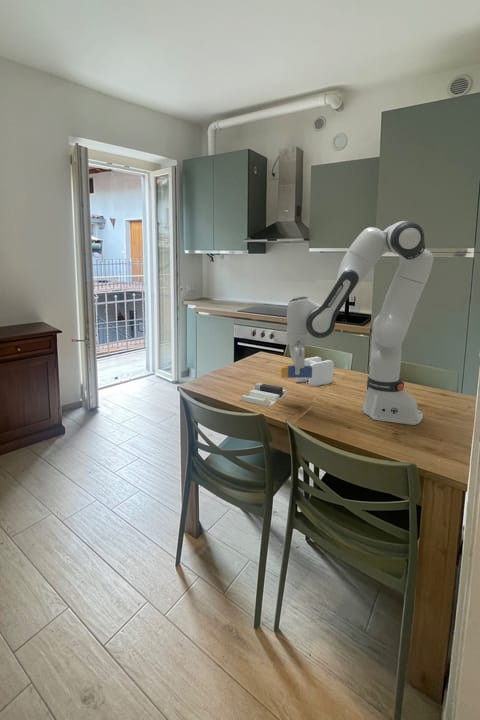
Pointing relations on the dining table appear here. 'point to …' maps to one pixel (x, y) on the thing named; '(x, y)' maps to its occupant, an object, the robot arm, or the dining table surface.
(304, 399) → the dining table surface
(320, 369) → the cable organizer
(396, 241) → the robot arm
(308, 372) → the blue bar yellow end
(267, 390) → the dark grey square rod
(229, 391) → the dining table surface
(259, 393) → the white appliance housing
